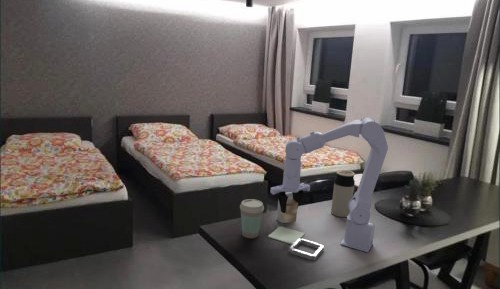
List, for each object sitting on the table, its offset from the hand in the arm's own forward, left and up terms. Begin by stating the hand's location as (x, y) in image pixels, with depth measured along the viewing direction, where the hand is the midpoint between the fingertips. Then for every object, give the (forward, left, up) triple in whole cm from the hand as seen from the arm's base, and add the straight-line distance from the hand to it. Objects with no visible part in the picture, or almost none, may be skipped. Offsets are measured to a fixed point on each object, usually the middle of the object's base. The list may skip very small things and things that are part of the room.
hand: (288, 211), depth 133 cm
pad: (0, 0, -9) cm, 9 cm away
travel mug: (-10, -32, -10) cm, 35 cm away
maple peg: (0, 0, -3) cm, 3 cm away
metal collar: (-10, +6, -9) cm, 15 cm away
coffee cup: (+11, +7, -10) cm, 16 cm away
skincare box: (+6, -12, -10) cm, 16 cm away
